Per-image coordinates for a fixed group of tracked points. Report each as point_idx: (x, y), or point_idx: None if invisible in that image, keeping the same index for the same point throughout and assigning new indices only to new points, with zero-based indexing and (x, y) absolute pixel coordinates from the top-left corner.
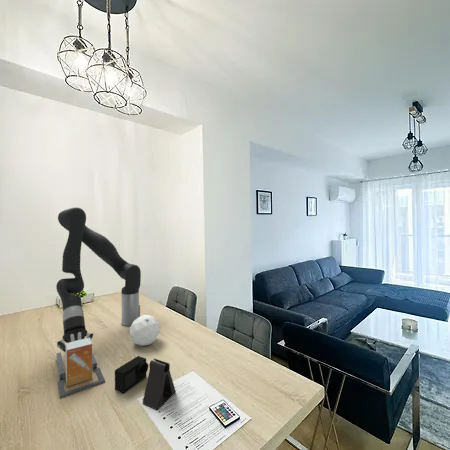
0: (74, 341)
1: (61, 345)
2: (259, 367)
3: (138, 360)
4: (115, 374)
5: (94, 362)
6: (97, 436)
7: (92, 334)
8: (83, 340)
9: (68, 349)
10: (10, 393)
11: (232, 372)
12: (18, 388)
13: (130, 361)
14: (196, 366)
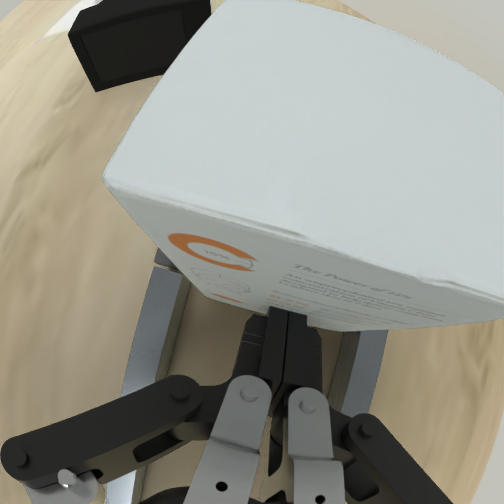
0: (449, 254)
1: (433, 498)
2: (19, 11)
3: (102, 9)
4: (210, 11)
5: (162, 285)
6: (330, 6)
7: (11, 453)
8: (287, 125)
9: (492, 86)
10: (500, 379)
11: (37, 11)
12: (481, 400)
13: (121, 12)
14: (24, 48)
